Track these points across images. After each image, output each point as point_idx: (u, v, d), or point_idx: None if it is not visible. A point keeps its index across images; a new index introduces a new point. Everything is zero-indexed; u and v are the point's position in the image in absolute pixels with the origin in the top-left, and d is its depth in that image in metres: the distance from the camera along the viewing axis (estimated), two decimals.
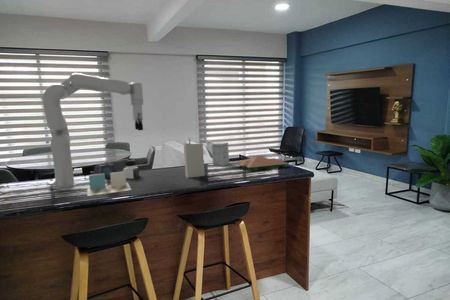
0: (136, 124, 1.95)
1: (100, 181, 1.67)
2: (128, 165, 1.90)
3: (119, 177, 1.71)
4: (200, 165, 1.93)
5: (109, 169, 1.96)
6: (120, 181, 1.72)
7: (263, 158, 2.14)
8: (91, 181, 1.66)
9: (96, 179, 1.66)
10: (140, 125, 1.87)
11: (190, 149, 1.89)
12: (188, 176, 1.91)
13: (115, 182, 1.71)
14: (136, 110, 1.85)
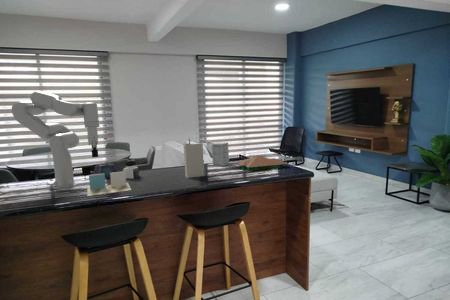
0: None
1: (100, 181, 1.67)
2: (128, 165, 1.90)
3: (119, 177, 1.71)
4: (200, 165, 1.93)
5: (109, 169, 1.96)
6: (120, 181, 1.72)
7: (263, 158, 2.14)
8: (91, 181, 1.66)
9: (96, 179, 1.66)
10: (95, 152, 1.70)
11: (190, 149, 1.89)
12: (188, 176, 1.91)
13: (115, 182, 1.71)
14: (90, 134, 1.64)
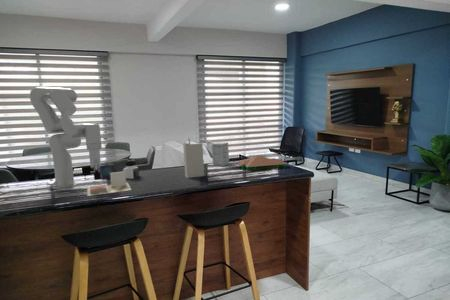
0: None
1: None
2: (128, 165, 1.90)
3: (119, 177, 1.71)
4: (200, 165, 1.93)
5: (109, 169, 1.96)
6: (120, 181, 1.72)
7: (263, 158, 2.15)
8: None
9: None
10: (97, 174, 1.64)
11: (190, 149, 1.89)
12: (188, 176, 1.91)
13: (115, 182, 1.71)
14: (92, 156, 1.59)
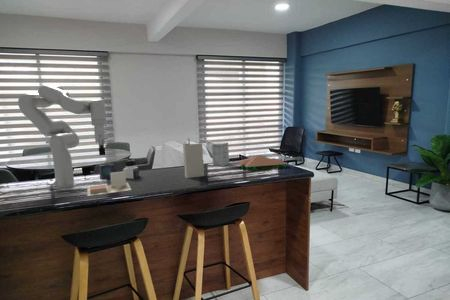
0: None
1: None
2: (128, 165, 1.90)
3: (119, 177, 1.71)
4: (200, 165, 1.93)
5: (109, 169, 1.96)
6: (120, 181, 1.72)
7: (263, 158, 2.15)
8: None
9: None
10: (102, 150, 1.68)
11: (189, 149, 1.89)
12: (187, 176, 1.91)
13: (115, 182, 1.71)
14: (96, 131, 1.62)
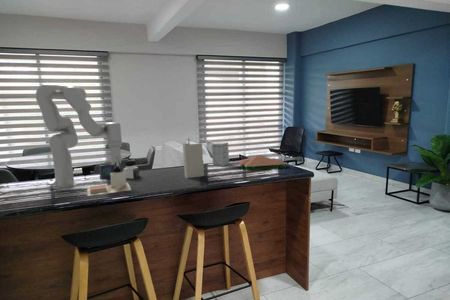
0: None
1: None
2: (128, 165, 1.90)
3: (119, 177, 1.71)
4: (199, 166, 1.93)
5: (109, 169, 1.96)
6: (120, 181, 1.72)
7: (263, 158, 2.15)
8: None
9: None
10: (117, 171, 1.72)
11: (189, 149, 1.89)
12: (187, 176, 1.91)
13: (115, 182, 1.70)
14: (113, 153, 1.67)
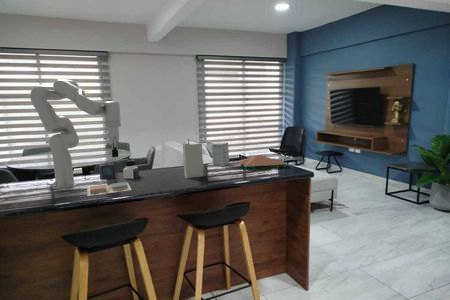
0: None
1: None
2: (128, 165, 1.90)
3: None
4: (199, 166, 1.93)
5: (109, 169, 1.96)
6: None
7: (262, 158, 2.15)
8: None
9: None
10: (115, 151, 1.67)
11: (189, 149, 1.89)
12: (187, 176, 1.90)
13: None
14: (111, 133, 1.62)
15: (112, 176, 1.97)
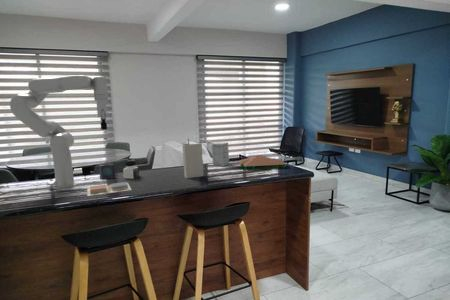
0: None
1: None
2: (128, 165, 1.90)
3: None
4: (199, 166, 1.93)
5: (109, 169, 1.96)
6: None
7: (262, 158, 2.16)
8: None
9: None
10: (104, 124, 1.76)
11: (189, 149, 1.89)
12: (187, 176, 1.90)
13: None
14: (99, 106, 1.71)
15: (112, 176, 1.97)
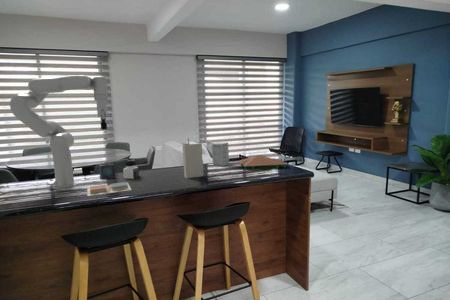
0: None
1: None
2: (128, 165, 1.90)
3: None
4: (199, 166, 1.93)
5: (109, 169, 1.96)
6: None
7: (262, 158, 2.16)
8: None
9: None
10: (104, 124, 1.76)
11: (189, 149, 1.89)
12: (187, 176, 1.90)
13: None
14: (99, 106, 1.71)
15: (112, 176, 1.97)
